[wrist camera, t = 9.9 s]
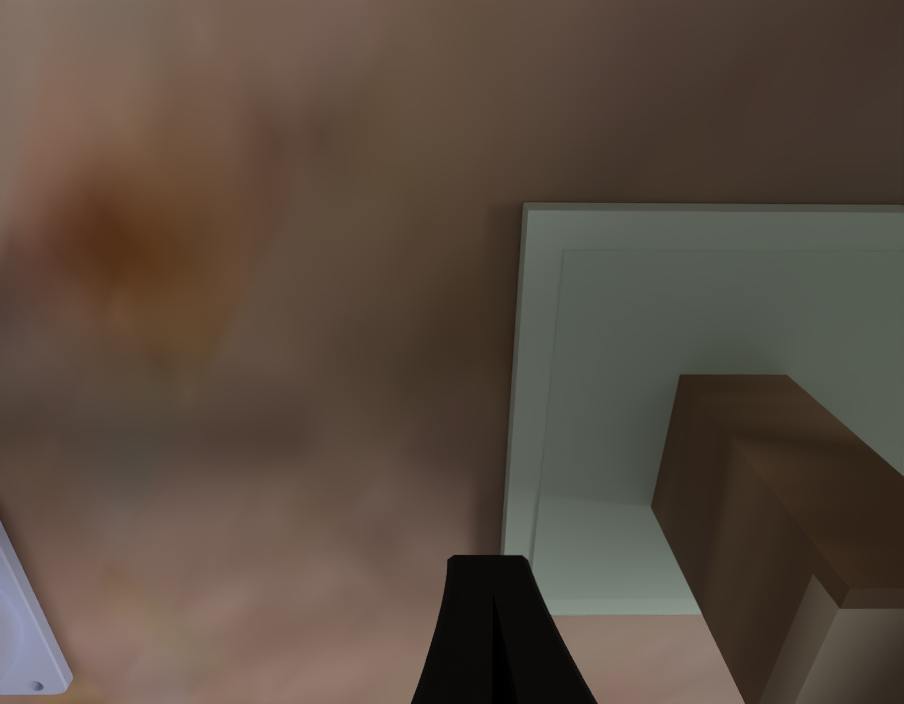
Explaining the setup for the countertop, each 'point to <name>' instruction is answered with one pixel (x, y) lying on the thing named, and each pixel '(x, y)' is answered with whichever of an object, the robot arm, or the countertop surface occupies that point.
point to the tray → (678, 365)
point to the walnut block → (786, 540)
